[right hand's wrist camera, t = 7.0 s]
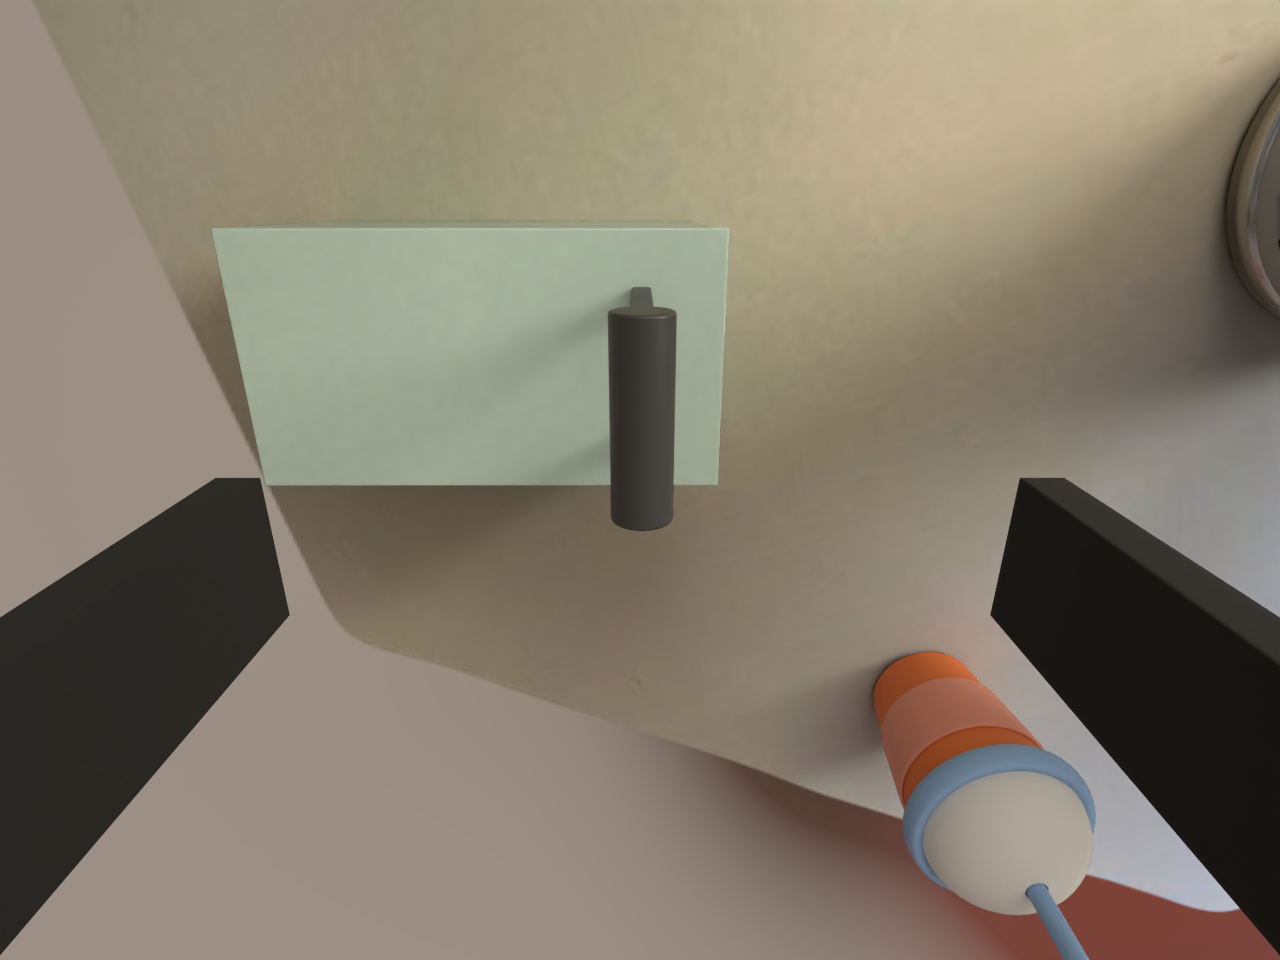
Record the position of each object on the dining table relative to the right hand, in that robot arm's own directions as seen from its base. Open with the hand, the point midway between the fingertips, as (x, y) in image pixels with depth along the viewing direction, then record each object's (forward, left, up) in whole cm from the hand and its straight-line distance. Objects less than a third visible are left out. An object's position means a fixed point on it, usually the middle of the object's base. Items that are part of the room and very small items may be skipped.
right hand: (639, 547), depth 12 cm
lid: (+2, -6, -15) cm, 16 cm away
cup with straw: (+16, +24, -25) cm, 38 cm away
